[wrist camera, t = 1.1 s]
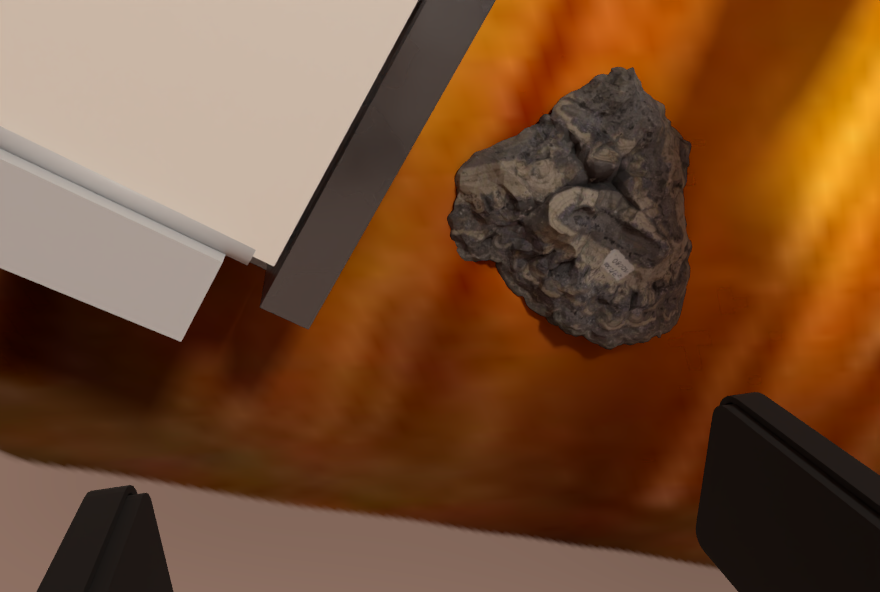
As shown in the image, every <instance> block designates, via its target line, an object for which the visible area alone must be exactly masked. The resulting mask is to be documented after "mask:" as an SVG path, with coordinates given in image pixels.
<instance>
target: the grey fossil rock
mask: <svg viewBox="0 0 880 592" xmlns="http://www.w3.org/2000/svg"><path fill="white" fill-rule="evenodd" d="M690 150H691V143H690V142H688V141H686V140H683V137H682V136H681V135H680V133H679V132H678V131H677V130H676V129H675V128H673V127H672V126H671V121H670V120H668V119H667V118H666V116H665V106H664V105H663V104H662V103H660V102H658V101H656V100H654V99H653V98H652V97H651V96H650V95H649V94H647V93H646V92H645V91H644V90H643V88H642V85H641V82H640V80H639V79H638V77H637V75H636V73H635V71H634V68H633V67H632V68H630V69H628V70H626V69H624V68H622V67H615V68H612V69H611V72H610V73H609V74H608V75H605V74H600V75H597V76H595V77H594V78H593V79H592V80H591V81H590V82H589V83H588V84H586V85H585V86H583V87H582V88H581V89H578V90H576V91H573V92H571V93H569V94H567V95H566V96H564V97H562V98H561V99H560V100H559V101H558V103H557V104H556V105H555V106H554V107H553V110H552V113H551V115H549V114H544V115H543V116H542V117H541V118H540V120H539V122H538V124H535V125H533V126H531V127H528V128H525V129H524V130H523V131H522V132H521V133H520V134H518V135H517V136H514V137H511V138H508V139H506V140H503V141H501V142H499V143H497V144H495V145H493V146H491V147H490V148H487V149H484V150H481V151H478V152H475V153H474V154H473V155H472V156H471V158H470V159H469V160H468V161H466V162H465V163H464V164H463V165H462V166H461V167H460V169H459V171H458V172H457V175H456V177H455V183H456V186H457V198H456V200H455V204H454V210H453V211H452V212H451V213H450V214H449V216H448V218H447V220H448V223H449V225H450V227H451V228H452V229H451V234H450V236H451V239H452V240H454V241H455V243H456V246H457V247H458V248H457V252H458V253H459V255H460V257H461V258H462V259H464V260H465V261H474V262H477V261H482V260H485V261H487V260H491V261H494V262H496V267H497V269H498V272H499V273H500V275H501V277H502V278H503V280H504V281H505V283H506V285H507V286H508V287H509V288H510V289H511V290H512V291H513V293H515V294H516V295H518V296H523V297H524V298H525V301H526V305H527V306H528V307H529V308H530V309H532V310H533V311H535V312H536V313H538V314H539V315H541V316H545V317H546V318H547V321H548V322H549V323H551V324H553V325H555V326H559V328H560V329H561V330H563V331H564V332H565V333H566V334H571V335H573V336H576V337H577V336H580V335H582V336H584V337H585V338H586V339H588V340H589V341H591V342H592V343H595V344H598V345H599V346H601V347H603V348H605V349H610V350H611V349H613V348H614V347H616V346H618V345H622V344H627V345H633V344H636V343H644V342H648V341H649V340H650V339H651V338H652V337H654V336H657V337H658V338H660V337H661V334H665V333H667V332H669V331H670V330H671V329H672V328H673V326H674V325H676V324H677V321H678V319H679V317H680V314H681V310H682V305H683V301H684V297H685V293H686V286H687V283H688V280H689V277H690V266H689V263H688V258H689V255H690V252H691V250H692V244H691V241H690V240H689V238H688V236H687V232H686V225H687V223H686V219H685V216H684V210H685V209H684V195H683V188H684V187H685V185H686V182H687V167H688V166H689V153H690Z"/></svg>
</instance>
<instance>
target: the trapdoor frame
mask: <svg viewBox="0 0 880 592" xmlns="http://www.w3.org/2000/svg"><path fill="white" fill-rule="evenodd" d="M494 2H495V0H418V2H417V4H416V5H415V7H414V9H413V11H412V13H411V15H410V17H409V18H408V20H407V22H406V24H405V26H404V28H403V29H402V31H401V33H400V35H399V37H398V39H397V41H396V42H395V44H394V46H393V48H392V50H391V52H390V53H389V55H388V57H387V59H386V61H385V63H384V65H383V66H382V68H381V70H380V72H379V74H378V76H377V77H376V79H375V81H374V83H373V85H372V87H371V89H370V90H369V92H368V94H367V96H366V98H365V100H364V101H363V103H362V105H361V107H360V109H359V111H358V112H357V114H356V116H355V118H354V120H353V122H352V124H351V125H350V127H349V129H348V131H347V133H346V135H345V136H344V138H343V140H342V142H341V144H340V146H339V148H338V149H337V151H336V153H335V155H334V157H333V159H332V160H331V162H330V164H329V166H328V168H327V170H326V172H325V173H324V175H323V177H322V179H321V181H320V183H319V184H318V186H317V188H316V190H315V192H314V194H313V196H312V197H311V199H310V201H309V203H308V205H307V207H306V208H305V210H304V212H303V214H302V216H301V218H300V220H299V221H298V223H297V225H296V227H295V229H294V231H293V232H292V234H291V236H290V238H289V240H288V242H287V243H286V245H285V247H284V249H283V251H282V253H281V255H280V256H279V258H278V260H277V262H276V264H275V266H272V265H270V264H267V263H265V262H263V261H261V260H259V259H257V258H255V257H252V259H251V260H250V262H251V263H253V264H255V265H257V266H259V267H261V268H263V269H265V270H266V274H265V280H264V285H263V291H262V297H261V303H260V308H262V309H264V310H266V311H269V312H271V313H273V314H275V315H278V316H280V317H282V318H284V319H286V320H289V321H291V322H293V323H295V324H298V325H300V326H302V327H304V328H306V329H309V328H310V326H311V324H312V322H313V321H314V319H315V317H316V315H317V313H318V312H319V310H320V308H321V306H322V305H323V303H324V301H325V299H326V298H327V296H328V294H329V292H330V291H331V289H332V287H333V285H334V284H335V282H336V280H337V278H338V277H339V275H340V273H341V271H342V270H343V268H344V266H345V264H346V262H347V261H348V259H349V257H350V255H351V254H352V252H353V250H354V248H355V247H356V245H357V243H358V241H359V240H360V238H361V236H362V234H363V233H364V231H365V229H366V227H367V226H368V224H369V222H370V220H371V219H372V217H373V215H374V213H375V211H376V210H377V208H378V206H379V204H380V203H381V201H382V199H383V197H384V196H385V194H386V192H387V190H388V189H389V187H390V185H391V183H392V182H393V180H394V178H395V176H396V175H397V173H398V171H399V169H400V167H401V166H402V164H403V162H404V160H405V159H406V157H407V155H408V153H409V152H410V150H411V148H412V146H413V145H414V143H415V141H416V139H417V138H418V136H419V134H420V132H421V131H422V129H423V127H424V125H425V124H426V122H427V120H428V118H429V116H430V115H431V113H432V111H433V109H434V108H435V106H436V104H437V102H438V101H439V99H440V97H441V95H442V94H443V92H444V90H445V88H446V87H447V85H448V83H449V81H450V80H451V78H452V76H453V74H454V73H455V71H456V69H457V67H458V65H459V64H460V62H461V60H462V58H463V57H464V55H465V53H466V51H467V50H468V48H469V46H470V44H471V43H472V41H473V39H474V37H475V36H476V34H477V32H478V30H479V29H480V27H481V25H482V23H483V21H484V20H485V18H486V16H487V14H488V13H489V11H490V9H491V7H492V6H493V4H494Z"/></svg>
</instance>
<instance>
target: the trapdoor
mask: <svg viewBox="0 0 880 592" xmlns="http://www.w3.org/2000/svg"><path fill="white" fill-rule="evenodd" d="M417 2H418V0H0V268H2V269H4V270H6V271H9V272H11V273H14V274H16V275H19V276H21V277H24V278H26V279H28V280H31V281H33V282H36V283H38V284H41V285H43V286H46V287H48V288H50V289H53V290H55V291H58V292H60V293H63V294H65V295H68V296H70V297H72V298H75V299H77V300H80V301H82V302H85V303H87V304H90V305H92V306H94V307H97V308H99V309H102V310H104V311H107V312H109V313H112V314H114V315H116V316H119V317H121V318H124V319H126V320H129V321H131V322H134V323H136V324H138V325H141V326H143V327H146V328H148V329H151V330H153V331H156V332H158V333H160V334H163V335H165V336H168V337H170V338H173V339H175V340H178V341H180V342H181V341H182V339H183V337H184V336H185V334H186V332H187V330H188V328H189V326H190V324H191V322H192V320H193V318H194V316H195V314H196V313H197V311H198V309H199V307H200V305H201V303H202V301H203V299H204V297H205V295H206V293H207V291H208V290H209V288H210V286H211V284H212V282H213V280H214V278H215V276H216V274H217V272H218V270H219V268H220V267H221V265H222V263H223V260H224V258H225V255H226V256H228V257H231V258H233V259H235V260H237V261H239V262H241V263H243V264H245V265H248V264H249V262H250V260H251V259H252V257H255V258H257V259H259V260H261V261H263V262H265V263H267V264H270V265H272V266H275V264H276V262H277V260H278V258H279V256H280V255H281V253H282V251H283V249H284V247H285V245H286V243H287V242H288V240H289V238H290V236H291V234H292V232H293V231H294V229H295V227H296V225H297V223H298V221H299V220H300V218H301V216H302V214H303V212H304V210H305V208H306V207H307V205H308V203H309V201H310V199H311V197H312V196H313V194H314V192H315V190H316V188H317V186H318V184H319V183H320V181H321V179H322V177H323V175H324V173H325V172H326V170H327V168H328V166H329V164H330V162H331V160H332V159H333V157H334V155H335V153H336V151H337V149H338V148H339V146H340V144H341V142H342V140H343V138H344V136H345V135H346V133H347V131H348V129H349V127H350V125H351V124H352V122H353V120H354V118H355V116H356V114H357V112H358V111H359V109H360V107H361V105H362V103H363V101H364V100H365V98H366V96H367V94H368V92H369V90H370V89H371V87H372V85H373V83H374V81H375V79H376V77H377V76H378V74H379V72H380V70H381V68H382V66H383V65H384V63H385V61H386V59H387V57H388V55H389V53H390V52H391V50H392V48H393V46H394V44H395V42H396V41H397V39H398V37H399V35H400V33H401V31H402V29H403V28H404V26H405V24H406V22H407V20H408V18H409V17H410V15H411V13H412V11H413V9H414V7H415V5H416V4H417Z"/></svg>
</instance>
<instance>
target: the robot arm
mask: <svg viewBox="0 0 880 592" xmlns="http://www.w3.org/2000/svg"><path fill="white" fill-rule="evenodd" d="M696 535H697V538H698V542H699V544H700V546H701V547H702V549H703V550H704V552H705V553H706V554H707V555H708V556H709V558H710V559H711V560H712V561H713V562H714V563H715V565H716V566H717V567H718V568H719V569H720V571H721V572H722V573H723V574H724V575H725V577H726V578H727V579H728V580H729V581H730V582H731V584H732V585H733V586H734V587H735V588H736V589H737V591H738V592H880V475H878V474H877V473H875V472H874V471H872V470H871V469H870V468H868V467H867V466H865V465H864V464H862V463H861V462H859V461H858V460H857V459H855V458H854V457H852V456H851V455H849V454H848V453H847V452H845V451H844V450H842V449H841V448H839V447H838V446H837V445H835V444H834V443H832V442H831V441H829V440H828V439H827V438H825V437H824V436H822V435H821V434H819V433H818V432H817V431H815V430H814V429H812V428H811V427H809V426H808V425H806V424H805V423H804V422H802V421H801V420H799V419H798V418H796V417H795V416H794V415H792V414H791V413H789V412H788V411H786V410H785V409H784V408H782V407H781V406H779V405H778V404H776V403H775V402H774V401H772V400H771V399H769V398H768V397H766V396H765V395H763V394H761V393H758V392H753V393H746V394H739V395H732V396H727V397H725V398H723V400H722V401H721V402H720V406H718V407H716V408H715V410H714V412H713V416H712V423H711V429H710V436H709V443H708V449H707V456H706V463H705V469H704V476H703V483H702V489H701V496H700V503H699V509H698V516H697V523H696ZM37 592H173V588H172V584H171V580H170V576H169V572H168V567H167V564H166V559H165V555H164V551H163V547H162V543H161V539H160V534H159V530H158V526H157V522H156V518H155V514H154V509H153V505H152V501H151V498H150V496H149V494H147V493H142V494H137V492H136V489H135V488H134V486H131V485H128V486H121V487H114V488H109V489H101V490H94V491H90V492H88V493H87V494H86V496H85V497H84V499H83V501H82V503H81V505H80V507H79V509H78V511H77V513H76V515H75V517H74V519H73V521H72V523H71V525H70V527H69V529H68V531H67V533H66V535H65V537H64V539H63V541H62V543H61V545H60V547H59V549H58V551H57V553H56V555H55V557H54V559H53V561H52V562H51V564H50V567H49V568H48V570H47V572H46V575H45V577H44V578H43V580H42V582H41V584H40V586H39V588H38V590H37Z"/></svg>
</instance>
